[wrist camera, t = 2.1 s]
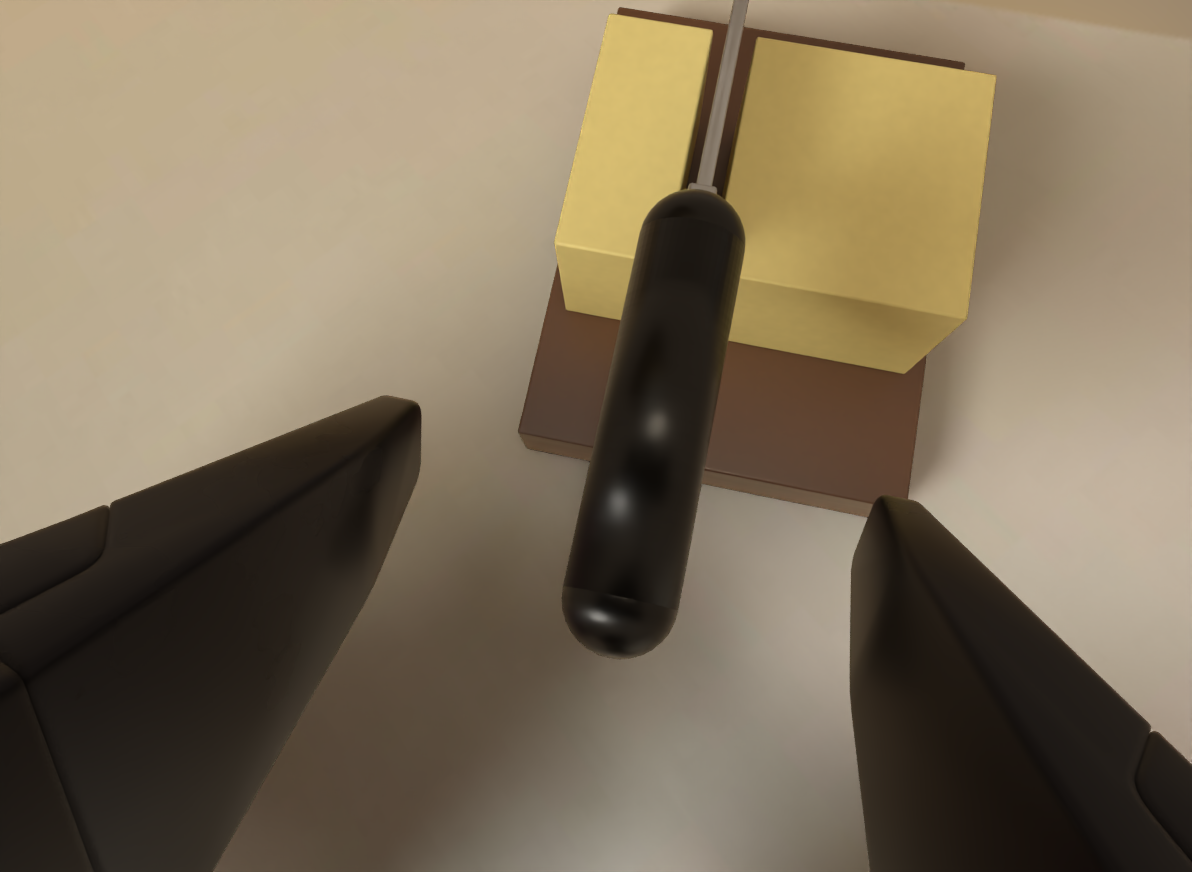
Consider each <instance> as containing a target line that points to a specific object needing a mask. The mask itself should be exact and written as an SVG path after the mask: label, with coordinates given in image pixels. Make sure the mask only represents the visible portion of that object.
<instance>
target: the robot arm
mask: <svg viewBox="0 0 1192 872" xmlns="http://www.w3.org/2000/svg"><path fill="white" fill-rule="evenodd" d="M420 465H421V409H420V406H419V405H418V403H417V402H415V401H412V400H408V399H403V398H398V397H393V396H380V397H378V398H375V399H373V400H370V401H367V402H365V403H362V404H360V405H357V406H355V407H352V408H350V409H347V410H345V411H342V412H340V413H337V414H334V415H332V416H329V417H327V418H324V419H322V420H319V421H317V422H314V423H312V424H309V425H307V426H304V427H301V428H299V429H296V430H294V431H291V432H289V433H286V434H284V435H281V436H279V437H276V438H274V439H271V440H268V441H266V442H263V443H261V444H258V445H256V446H253V447H251V448H248V449H246V450H243V451H240V452H238V453H235V454H233V455H230V456H228V457H225V458H223V459H220V460H218V461H215V462H212V463H210V464H207V465H205V466H202V467H200V468H197V469H195V470H192V471H190V472H187V473H184V474H182V475H179V476H177V477H174V478H172V479H169V480H167V481H164V482H162V483H159V484H157V485H154V486H151V487H149V488H146V489H144V490H141V491H139V492H136V493H134V494H131V495H129V496H126V497H123V498H121V499H118V500H116V501H114V502H112V503H111V505H110V508H109V507H108V506H106V505H103V506H100V507H98V508H95V509H93V510H90V511H88V512H85V513H83V514H80V515H78V516H75V517H72V518H70V519H67V520H65V521H62V522H59V523H57V524H54V525H51V526H49V527H46V528H43V529H41V530H38V531H35V532H33V533H30V534H27V535H25V536H22V537H19V538H17V539H14V540H11V541H8V542H5V543H2V544H0V872H213V870H214V868H215V867H216V865H217V863H218V861H219V860H220V858H221V856H222V854H223V853H224V851H225V849H226V847H227V846H228V844H229V842H230V840H231V838H232V837H233V835H234V833H235V831H236V830H237V828H238V826H239V824H240V823H241V821H242V819H243V817H244V815H245V814H246V812H247V810H248V808H249V807H250V805H251V803H252V801H253V800H254V798H255V796H256V794H257V793H258V791H259V789H260V787H261V785H262V784H263V782H264V780H265V778H266V777H267V775H268V773H269V771H270V770H271V768H272V766H273V764H274V762H275V761H276V759H277V757H278V755H279V754H280V752H281V750H282V748H283V747H284V745H285V743H286V741H287V740H288V738H289V736H290V734H291V732H292V731H293V729H294V727H295V725H296V724H297V722H298V720H299V718H300V717H301V715H302V713H303V711H304V709H305V708H306V706H307V704H308V702H309V701H310V699H311V697H312V695H313V694H314V692H315V690H316V688H317V687H318V685H319V683H320V681H321V679H322V678H323V676H324V674H325V672H326V671H327V669H328V667H329V665H330V664H331V662H332V660H333V658H334V656H335V655H336V653H337V651H338V649H339V648H340V646H341V644H342V642H343V641H344V639H345V637H346V635H347V634H348V632H349V630H350V628H351V626H352V625H353V623H354V621H355V619H356V618H357V616H358V614H359V612H360V611H361V609H362V607H363V605H364V603H365V601H366V600H367V598H368V596H369V594H370V592H371V590H372V588H373V586H374V584H375V581H376V579H377V577H378V575H379V572H380V570H381V568H382V565H383V563H384V560H385V558H386V555H387V553H388V551H389V548H390V546H391V543H392V541H393V538H394V536H395V534H396V531H397V529H398V526H399V524H400V521H401V519H402V516H403V514H404V512H405V509H406V507H407V504H408V502H409V499H410V497H411V495H412V492H413V490H414V487H415V485H416V482H417V479H418V476H419V471H420ZM850 700H851V712H852V721H853V729H854V738H855V747H856V755H857V764H858V773H859V781H860V790H861V799H862V807H863V816H864V825H865V833H866V842H867V851H868V859H869V868H870V872H1192V764H1191V763H1190V762H1189V761H1188V760H1187V759H1186V758H1185V757H1184V756H1183V755H1181V754H1180V753H1179V752H1178V751H1177V750H1176V749H1175V748H1174V747H1173V746H1172V745H1171V744H1170V743H1169V742H1168V741H1167V740H1166V739H1165V738H1164V737H1163V736H1162V735H1161V734H1160V733H1158V732H1156V731H1152V732H1150V730H1151V726H1150V724H1149V723H1148V722H1147V721H1146V720H1145V719H1144V718H1143V717H1142V716H1141V715H1140V714H1139V713H1138V712H1137V711H1136V710H1134V709H1133V708H1132V707H1131V706H1130V705H1129V704H1128V703H1127V702H1126V701H1125V700H1124V699H1123V698H1122V697H1121V696H1120V695H1119V694H1118V693H1117V692H1116V691H1115V690H1114V689H1113V688H1112V687H1111V686H1110V685H1108V684H1107V683H1106V682H1105V681H1104V680H1103V679H1102V678H1101V677H1100V676H1099V675H1098V674H1097V673H1096V672H1095V671H1094V670H1093V669H1092V668H1091V667H1090V666H1089V665H1088V664H1087V663H1086V662H1085V661H1084V660H1082V659H1081V658H1080V657H1079V656H1078V655H1077V654H1076V653H1075V652H1074V651H1073V650H1072V649H1071V648H1070V647H1069V646H1068V645H1067V644H1066V643H1065V642H1064V641H1063V640H1062V639H1061V638H1060V637H1059V636H1058V635H1056V634H1055V633H1054V632H1053V631H1052V630H1051V629H1050V628H1049V627H1048V626H1047V625H1046V624H1045V623H1044V622H1043V621H1042V620H1041V619H1040V618H1039V617H1038V616H1037V615H1036V614H1035V613H1034V612H1033V611H1032V610H1030V609H1029V608H1028V607H1027V606H1026V605H1025V604H1024V603H1023V602H1022V601H1021V600H1020V599H1019V598H1018V597H1017V596H1016V595H1015V594H1014V593H1013V592H1012V591H1011V590H1010V589H1009V588H1008V587H1007V586H1006V585H1004V584H1003V583H1002V582H1001V581H1000V580H999V579H998V578H997V577H996V576H995V575H994V574H993V573H992V572H991V571H990V570H989V569H988V568H987V567H986V566H985V565H984V564H983V563H982V562H981V561H980V560H978V559H977V558H976V557H975V556H974V555H973V554H972V553H971V552H970V551H969V550H968V549H967V548H966V547H965V546H964V545H963V544H962V543H961V542H960V541H959V540H958V539H957V538H956V537H955V536H954V535H952V534H951V533H950V532H949V531H948V530H947V529H946V528H945V527H944V526H943V525H942V524H941V523H940V522H939V521H938V520H937V519H936V518H935V517H934V516H933V515H932V514H931V513H930V512H929V511H928V510H926V509H925V508H924V507H923V506H922V505H921V504H920V503H919V502H917V501H914V500H909V499H904V498H899V497H894V496H889V495H882V496H880V497H878V498H877V499H876V501H875V502H874V504H873V506H872V509H871V511H870V514H869V516H868V519H867V522H866V524H865V527H864V529H863V532H862V534H861V537H860V540H859V542H858V545H857V547H856V550H855V553H854V557H853V561H852V568H851V610H850Z"/></svg>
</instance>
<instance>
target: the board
mask: <svg viewBox="0 0 1192 872" xmlns="http://www.w3.org/2000/svg"><path fill="white" fill-rule="evenodd" d="M617 15H623V16H630V17H636V18H642V19H648V20H654V21H661V22H667V23H673V24H679V25H685V26H692V27H698V28H704V29H710V30H713V39H712V45H711V52H710V58H709V64H708V71H707V77H706V84H705V90H704V96H703V103H702V109H701V116H700V122H699V128H698V134H697V138H696V143H695V148H694V153H693V158H692V163H691V168H690V172H689V177H688V182H687V187H686V189H688V186H689V184H690V183H697V178H698V173H699V168H700V163H701V158H702V153H703V148H704V143H705V139H706V134H707V129H708V124H709V119H710V114H711V109H712V104H713V99H714V94H715V89H716V84H717V80H718V75H719V70H720V65H721V60H722V55H723V50H724V45H725V40H726V35H727V30H728V26H729V25H728V24H721V23H715V22H709V21H703V20H696V19H690V18H684V17H678V16H671V15H665V14H659V13H653V12H646V11H640V10H634V9H628V8H622V7H620V8H619V9H618V12H617ZM758 37H762V38H768V39H774V40H780V41H787V42H793V43H799V44H805V45H811V46H818V47H824V48H830V49H836V50H842V51H849V52H855V53H861V54H867V55H873V56H880V57H886V58H892V59H898V60H904V61H911V62H917V63H923V64H929V65H936V66H942V67H948V68H954V69H960V70H964V67H965V63H964V62H958V61H952V60H946V59H940V58H933V57H927V56H921V55H915V54H908V53H902V52H896V51H890V50H883V49H877V48H871V47H865V46H858V45H852V44H846V43H840V42H834V41H827V40H821V39H815V38H809V37H802V36H796V35H790V34H784V33H777V32H771V31H765V30H759V29H752V28H746V27H743V32H742V37H741V42H740V47H739V52H738V57H737V62H736V68H735V73H734V78H733V83H732V88H731V93H730V98H729V103H728V108H727V113H726V118H725V123H724V128H723V133H722V138H721V143H720V148H719V153H718V158H717V163H716V168H715V173H714V178H713V183H712V186H714V187H716V188H717V195H719V196H721V197H722V194H723V189H724V184H725V179H726V173H727V168H728V163H729V158H730V153H731V148H732V143H733V138H734V133H735V129H736V124H737V120H738V116H739V111H740V107H741V103H742V98H743V94H744V90H745V85H746V81H747V77H748V72H749V68H750V64H751V59H752V55H753V51H754V46H755V42H756V39H757V38H758ZM620 321H621V320H617V319H611V318H606V317H601V316H596V315H590V314H585V313H580V312H574V311H569V310H566V307H565V301H564V295H563V290H562V284H561V278H560V273H559V267H558V264H557V269H556V273H555V277H554V281H553V286H552V290H551V294H550V298H549V302H548V307H547V311H546V315H545V319H544V323H543V328H542V332H541V336H540V340H539V344H538V349H537V353H536V357H535V361H534V366H533V370H532V374H531V378H530V382H529V387H528V391H527V395H526V399H525V403H524V408H523V412H522V416H521V420H520V424H519V429H518V433H519V435H520V437H521V438H522V440H523V442H524V444H525V446H526V448H528V449H533V450H538V451H543V452H548V453H553V454H558V455H563V456H567V457H572V458H577V459H582V460H587V461H590V460H591V455H592V450H593V446H594V441H595V437H596V432H597V427H598V423H599V418H600V413H601V409H602V404H603V400H604V395H605V390H606V386H607V381H608V376H609V372H610V367H611V363H612V358H613V353H614V349H615V344H616V340H617V335H618V330H619V326H620ZM926 356H927V355H925V356H924V357H923V358H922V359H921V360H920V361H919V362H918V363H916V364H915V365H914V366H913V367H912V368H911V369H910V370H908V371H907V372H906V373H905V374H902V373H896V372H891V371H886V370H881V369H875V368H870V367H865V366H859V365H854V364H849V363H843V362H838V361H833V360H828V359H822V358H817V357H812V356H806V355H801V354H796V353H790V352H785V351H780V350H775V349H769V348H764V347H759V346H753V345H748V344H743V343H738V342H732V341H728V345H727V350H726V356H725V361H724V366H723V372H722V377H721V383H720V388H719V393H718V399H717V404H716V409H715V415H714V420H713V426H712V431H711V436H710V442H709V447H708V452H707V458H706V463H705V469H704V474H703V479H702V484H706V485H711V486H716V487H721V488H726V489H731V490H736V491H741V492H746V493H750V494H755V495H760V496H765V497H770V498H775V499H780V500H785V501H790V502H795V503H800V504H805V505H810V506H815V507H820V508H825V509H830V510H835V511H839V512H844V513H849V514H854V515H859V516H864V517H868V516H869V514H870V511H871V509H872V506H873V504H874V502H875V501H876V499H877V498H878V497H880V496H882V495H889V496H894V497H899V498H904V499H908V493H909V486H910V478H911V470H912V463H913V455H914V448H915V440H916V432H917V425H918V417H919V410H920V402H921V394H922V387H923V379H924V372H925V364H926Z"/></svg>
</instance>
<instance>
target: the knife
mask: <svg viewBox="0 0 1192 872" xmlns="http://www.w3.org/2000/svg"><path fill="white" fill-rule="evenodd" d="M748 2H749V0H734V1H733V6H732V11H731V16H730V21H729V26H728V30H727V35H726V40H725V45H724V50H723V55H722V60H721V65H720V70H719V75H718V80H717V84H716V89H715V94H714V99H713V104H712V109H711V114H710V119H709V124H708V129H707V134H706V139H705V143H704V148H703V153H702V158H701V163H700V168H699V173H698V178H697V183H690V184H689V186H688V189H685V190H681V191H677V192H674V193H672V194H669V195H668V196H666V197H665V198H663V199H662V200H660V201H659V202H657V204H656V205H655V206H654V207H653V208H652V209H651V210H650V211H649V213H648V214H647V216H646V218H645V219H644V221H643V224H642V227H641V230H640V233H639V238H638V243H637V247H636V252H635V256H634V261H633V266H632V270H631V275H630V280H629V284H628V289H627V293H626V298H625V303H624V307H623V312H622V316H621V321H620V326H619V330H618V335H617V340H616V344H615V349H614V353H613V358H612V363H611V367H610V372H609V376H608V381H607V386H606V390H605V395H604V400H603V404H602V409H601V413H600V418H599V423H598V427H597V432H596V437H595V441H594V446H593V450H592V455H591V460H590V464H589V469H588V473H587V478H586V483H585V487H584V492H583V497H582V501H581V506H580V510H579V515H578V520H577V524H576V529H575V533H574V538H573V543H572V547H571V552H570V557H569V561H568V566H567V570H566V575H565V580H564V584H563V592H562V608H563V613H564V616H565V620H566V622H567V624H568V627H569V629H570V631H571V632H572V633H573V635H574V636H575V637H576V639H577V640H578V641H579V642H580V643H581V644H582V645H584V646H585V647H586V648H587V649H589V650H590V651H592V652H594V653H596V654H598V655H601V656H604V657H607V658H613V659H630V658H634V657H637V656H641V655H644V654H645V653H647V652H649V651H651V650H653V649H654V648H655V647H656V646H658V645H659V644H660V643H661V642H662V641H663V640H664V639H665V638H666V636H667V635H668V634H669V632H670V630H671V629H672V627H673V625H674V623H675V620H676V616H677V613H678V608H679V603H680V598H681V592H682V587H683V581H684V576H685V571H686V565H687V560H688V555H689V549H690V544H691V538H692V533H693V528H694V522H695V517H696V512H697V506H698V501H699V495H700V490H701V485H702V479H703V474H704V469H705V463H706V458H707V452H708V447H709V442H710V436H711V431H712V426H713V420H714V415H715V409H716V404H717V399H718V393H719V388H720V383H721V377H722V372H723V366H724V361H725V356H726V350H727V345H728V340H729V334H730V329H731V323H732V318H733V313H734V307H735V302H736V297H737V291H738V286H739V280H740V275H741V270H742V264H743V259H744V254H745V242H746V238H745V231H744V227H743V224H742V222H741V219H740V217H739V215H738V214H737V212H736V211H735V209H734V208H733V207H732V205H731V204H729V203H728V202H727V201H726V200H725V199H723V198H722V197H721V196H719V195H717V188H716V187H714V186H712V183H713V178H714V173H715V168H716V163H717V158H718V153H719V148H720V143H721V138H722V133H723V128H724V123H725V118H726V113H727V108H728V103H729V98H730V93H731V88H732V83H733V78H734V73H735V68H736V62H737V57H738V52H739V47H740V42H741V37H742V32H743V27H744V22H745V17H746V12H747V7H748Z"/></svg>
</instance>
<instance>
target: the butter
mask: <svg viewBox="0 0 1192 872" xmlns="http://www.w3.org/2000/svg"><path fill="white" fill-rule="evenodd" d="M712 39H713V30H710V29H704V28H698V27H692V26H685V25H679V24H673V23H667V22H661V21H654V20H648V19H642V18H636V17H630V16H623V15H617V14H610V15H609V16H608V20H607V24H606V28H605V32H604V36H603V41H602V45H601V49H600V53H599V57H598V61H597V66H596V70H595V74H594V78H593V82H592V87H591V91H590V95H589V99H588V103H587V107H586V112H585V116H584V120H583V124H582V128H581V132H580V137H579V141H578V145H577V149H576V153H575V157H574V162H573V166H572V170H571V174H570V178H569V182H568V187H567V191H566V195H565V199H564V203H563V207H562V212H561V216H560V220H559V224H558V228H557V232H556V237H555V241H554V244H555V250H556V255H557V261H558V267H559V273H560V278H561V284H562V290H563V295H564V301H565V307H566V310H569V311H574V312H580V313H585V314H590V315H596V316H601V317H606V318H611V319H617V320H621V316H622V312H623V307H624V303H625V298H626V293H627V289H628V284H629V280H630V275H631V270H632V266H633V261H634V256H635V252H636V247H637V243H638V238H639V233H640V230H641V227H642V224H643V221H644V219H645V218H646V216H647V214H648V213H649V211H650V210H651V209H652V208H653V207H654V206H655V205H656V204H657V202H659V201H660V200H662V199H663V198H665V197H666V196H668V195H669V194H672V193H674V192H677V191H681V190H685V189H686V187H687V182H688V177H689V172H690V168H691V163H692V158H693V153H694V148H695V143H696V138H697V134H698V128H699V122H700V116H701V109H702V103H703V96H704V90H705V84H706V77H707V71H708V64H709V58H710V52H711V45H712ZM995 85H996V75H991V74H985V73H979V72H973V71H967V70H960V69H954V68H948V67H942V66H936V65H929V64H923V63H917V62H911V61H904V60H898V59H892V58H886V57H880V56H873V55H867V54H861V53H855V52H849V51H842V50H836V49H830V48H824V47H818V46H811V45H805V44H799V43H793V42H787V41H780V40H774V39H768V38H762V37H758V38H757V39H756V42H755V46H754V51H753V55H752V59H751V64H750V68H749V72H748V77H747V81H746V85H745V90H744V94H743V98H742V103H741V107H740V111H739V116H738V120H737V124H736V129H735V133H734V138H733V143H732V148H731V153H730V158H729V163H728V168H727V173H726V179H725V184H724V189H723V194H722V198H723V199H725V200H726V201H727V202H728V203H729V204H731V205H732V207H733V208H734V209H735V211H736V212H737V214H738V215H739V217H740V219H741V222H742V224H743V227H744V231H745V238H746V242H745V254H744V259H743V264H742V270H741V275H740V280H739V286H738V291H737V297H736V302H735V307H734V313H733V318H732V323H731V329H730V334H729V340H728V341H732V342H738V343H743V344H748V345H753V346H759V347H764V348H769V349H775V350H780V351H785V352H790V353H796V354H801V355H806V356H812V357H817V358H822V359H828V360H833V361H838V362H843V363H849V364H854V365H859V366H865V367H870V368H875V369H881V370H886V371H891V372H896V373H902V374H905V373H906V372H907V371H908V370H910V369H911V368H912V367H913V366H914V365H915V364H916V363H918V362H919V361H920V360H921V359H922V358H923V357H924V356H925V355H927V354H928V353H929V352H930V351H931V350H932V349H933V348H934V347H936V346H937V345H938V344H939V343H940V342H941V341H942V340H944V339H945V338H946V337H947V336H948V335H949V334H950V333H951V332H953V331H954V330H955V329H956V328H957V327H958V326H959V325H961V324H962V323H963V322H964V321H965V320H966V319H967V315H968V307H969V299H970V290H971V282H972V274H973V266H974V257H975V249H976V241H977V233H978V225H979V216H980V208H981V200H982V192H983V184H984V175H985V167H986V159H987V151H988V142H989V134H990V126H991V118H992V110H993V101H994V93H995Z"/></svg>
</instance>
